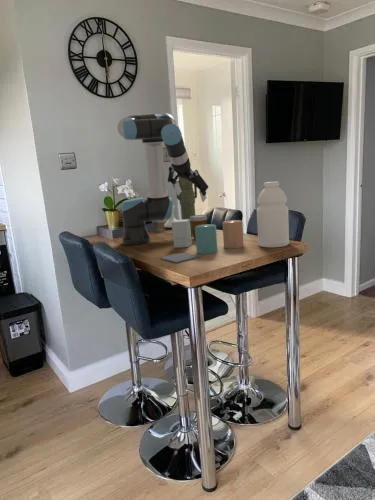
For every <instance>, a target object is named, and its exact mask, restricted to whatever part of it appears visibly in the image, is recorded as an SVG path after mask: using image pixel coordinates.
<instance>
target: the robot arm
mask: <svg viewBox="0 0 375 500" xmlns="http://www.w3.org/2000/svg"><path fill="white" fill-rule="evenodd" d="M117 132H118V133H119V135H120V137H122V138H123V139H125V140H129V141H135V140H141V142H142V144H143V145H144V146H145V152H146V153H145V154H146V167H147V178H148V179H147V180H148V191H149V192H148V194H147V195H146V199H144V198H143V197H136V198H132V199H127V200H125V201H123V202H122V203H121V213H122V222H123V223H122V224H123V225H122V226H123V232H122V233H123V234H122V237H121V244H122V245H125V246H135V245H136V246H137V245H142V244H149V242H150V243H151V236H150V234H149V231H148V229H147V226H146V223H147V222H153V221H156V222H157V221H164V220H169V219H170V217H171V215H172V209H173V206H174V205H173V204H174V203H173V204H172V200H173V199H172V197H170V196H169V193H168V194H167V193H166V191H165V190H166V181H165V179H166V177H165V167H164V165H165V162H164V149H163V148H164V147H163V145H164V146H165V149H166V152H167V155H168V158H169V161H170V163H171V164H170V166H169V167H168V177H167V183H171V184H172V186H173V189H175V193H176V192H177V195H179V194H180V193H181V192H182V191H181V188H180V185H179V182H178V181H179V176H180V177H181V178H185V179H188V180H189V181H191V182H192V183H193V186H194V185H195V186H196V187H197V190H199V191H198V192H199V196H200V198H201V199H200V200H201V201H202V202H203V203H204V202H205V201H206V199H207V190H208V189H209V185H208V184H207V183H206V181H205V180H204V179H203V177H202V176H201V174H200V173H199V170H198V169H195V170H192V168H191V162H190V161H191V160H190V158H189V154H188V151H187V149H186V145H185V142H184V138H183V134H182V133H183V132H182V131H181V128H180V127H179V125H178V124H177V122H176V120H175V118H174V117H173V116H172V115H171V114H169V113H163V114H158V113H157V114H156V113H153V114H139V115H138V114H133V115H129V116H126V117H123V118H122V119H120V120H119V122H118V124H117ZM174 173H176V175H175V176H174ZM191 175H192V176H191ZM190 176H191V178H189V177H190ZM177 195H176V196H177Z"/></svg>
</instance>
